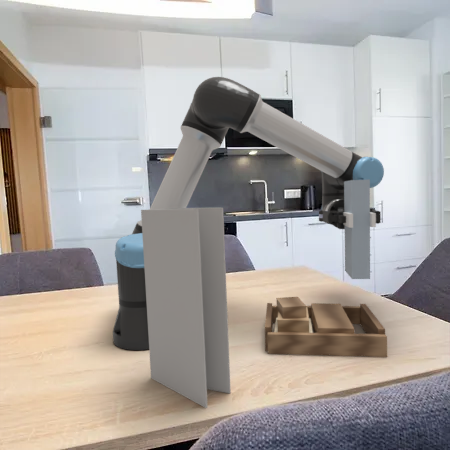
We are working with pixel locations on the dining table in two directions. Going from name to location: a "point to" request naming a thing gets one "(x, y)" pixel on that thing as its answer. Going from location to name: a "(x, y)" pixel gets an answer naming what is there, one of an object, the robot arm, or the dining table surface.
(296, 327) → the plate
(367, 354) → the tray
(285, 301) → the offcut top
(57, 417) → the dining table surface
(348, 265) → the grey rectangular block
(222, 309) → the brochure
